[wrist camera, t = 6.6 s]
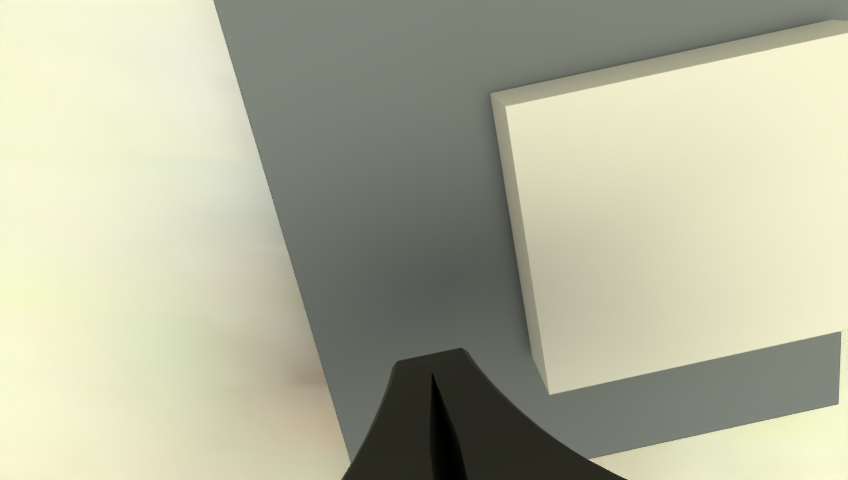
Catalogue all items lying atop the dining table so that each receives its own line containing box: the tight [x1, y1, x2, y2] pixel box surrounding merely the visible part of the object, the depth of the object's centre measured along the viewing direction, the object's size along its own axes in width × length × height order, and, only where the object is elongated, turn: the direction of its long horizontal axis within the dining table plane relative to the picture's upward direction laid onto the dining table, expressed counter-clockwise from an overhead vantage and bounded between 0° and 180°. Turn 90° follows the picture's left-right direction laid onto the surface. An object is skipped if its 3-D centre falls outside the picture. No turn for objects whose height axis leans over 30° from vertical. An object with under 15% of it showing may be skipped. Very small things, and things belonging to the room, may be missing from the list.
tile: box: [490, 20, 848, 395], centre depth 18 cm, size 8×2×9 cm
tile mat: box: [213, 0, 848, 463], centre depth 19 cm, size 17×16×1 cm
